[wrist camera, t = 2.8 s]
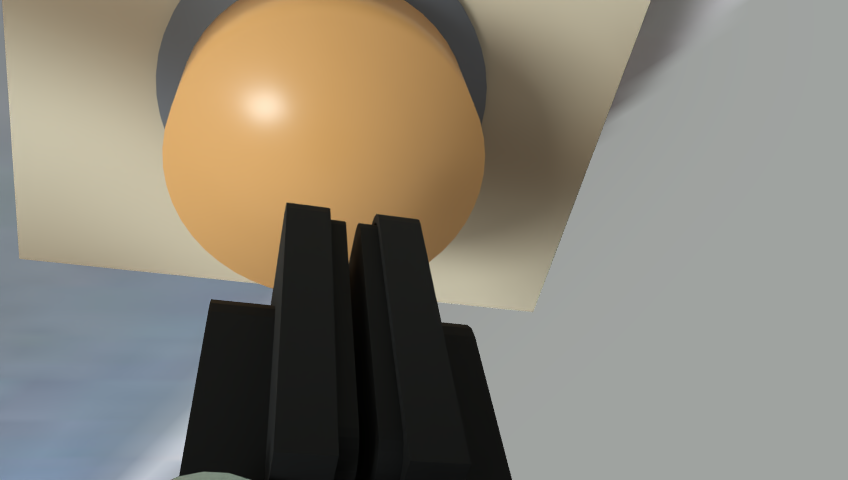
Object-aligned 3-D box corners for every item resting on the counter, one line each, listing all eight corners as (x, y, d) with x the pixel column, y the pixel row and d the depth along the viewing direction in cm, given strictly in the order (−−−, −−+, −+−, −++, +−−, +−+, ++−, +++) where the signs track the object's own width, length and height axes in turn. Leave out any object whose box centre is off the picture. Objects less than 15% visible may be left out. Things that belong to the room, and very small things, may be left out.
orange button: (187, -53, 12) (170, -17, 11) (499, 7, 13) (523, 46, 12) (171, 221, 15) (155, 280, 13) (432, 252, 16) (445, 309, 14)
